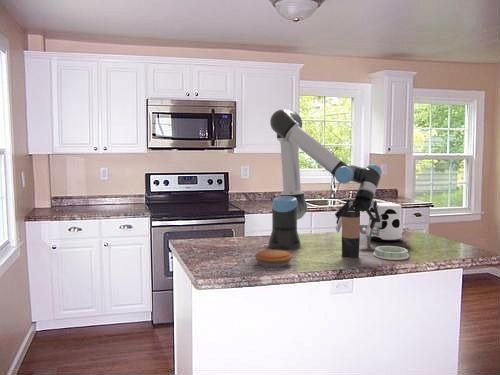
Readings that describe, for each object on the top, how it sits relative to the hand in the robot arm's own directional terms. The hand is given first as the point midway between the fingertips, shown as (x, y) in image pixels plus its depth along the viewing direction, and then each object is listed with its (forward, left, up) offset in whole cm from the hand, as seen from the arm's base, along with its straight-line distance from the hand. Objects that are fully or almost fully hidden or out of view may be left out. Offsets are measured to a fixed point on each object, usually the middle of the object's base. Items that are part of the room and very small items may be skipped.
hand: (351, 232), depth 199 cm
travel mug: (0, +1, -11) cm, 11 cm away
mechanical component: (+13, +20, -11) cm, 26 cm away
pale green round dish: (+18, +2, -11) cm, 21 cm away
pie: (-34, -11, -11) cm, 38 cm away
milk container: (+25, +35, -11) cm, 44 cm away
